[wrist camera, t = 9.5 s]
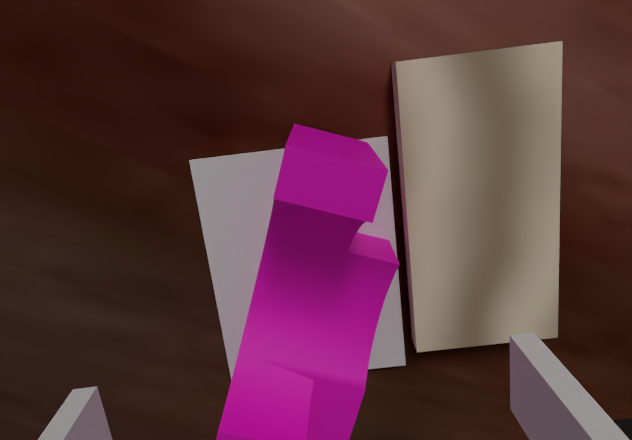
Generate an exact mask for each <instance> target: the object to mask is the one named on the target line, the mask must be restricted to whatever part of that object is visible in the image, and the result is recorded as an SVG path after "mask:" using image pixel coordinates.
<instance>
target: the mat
mask: <svg viewBox="0 0 632 440" xmlns="http://www.w3.org/2000/svg"><path fill="white" fill-rule="evenodd" d="M360 141H364V142H368V144H369V145H370V146H371V148H372V149H373V150H374V152H375V153H376V154H377V156H378V157H379V158H380V160H381V161H382V162H383V164H384V165H385V166H386V168H387V169H388V174H387V177H386V180H385V184H384V187H383V191H382V194H381V197H380V201H379V204H378V207H377V211H376V214H375V217H374V221H373V223H370V222H365V223H364V224H362V226H361V227H360V228H359V230H358V231H357V232H358V233H362V234H366V235H370V236H374V237H378V238H382V239H387V240H389V241H390V243H391V246H392V248H393V250H394V253H395V255H396V257H397V250H396V237H395V225H394V212H393V200H392V187H391V175H390V162H389V150H388V137H387V136H384V137H376V138H368V139H360ZM284 150H285V149H277V150H268V151H260V152H252V153H244V154H235V155H227V156H219V157H210V158H202V159H194V160H190V161H189V163H190V168H191V173H192V178H193V183H194V189H195V194H196V199H197V204H198V209H199V215H200V220H201V225H202V230H203V235H204V241H205V246H206V251H207V256H208V261H209V267H210V272H211V277H212V282H213V287H214V293H215V298H216V303H217V308H218V313H219V318H220V324H221V329H222V334H223V339H224V344H225V350H226V355H227V360H228V365H229V370H230V376H231V380H232V376H233V372H234V368H235V364H236V360H237V356H238V352H239V348H240V344H241V340H242V336H243V332H244V328H245V324H246V320H247V316H248V312H249V308H250V304H251V299H252V295H253V291H254V287H255V283H256V279H257V274H258V270H259V266H260V262H261V257H262V253H263V249H264V244H265V240H266V235H267V231H268V226H269V222H270V217H271V212H272V207H273V202H274V199H273V197H274V193H275V188H276V184H277V180H278V176H279V172H280V167H281V163H282V159H283V155H284ZM404 365H406V362H405V350H404V337H403V325H402V312H401V300H400V287H399V275H398V269H397V271H396V273H395V275H394V278H393V280H392V282H391V285H390V287H389V290H388V292H387V295H386V298H385V301H384V304H383V307H382V310H381V314H380V317H379V320H378V324H377V328H376V332H375V336H374V340H373V345H372V350H371V355H370V360H369V366H368V369H375V368H385V367H394V366H404Z"/></svg>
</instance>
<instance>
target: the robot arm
mask: <svg viewBox="0 0 632 440" xmlns="http://www.w3.org/2000/svg"><path fill="white" fill-rule="evenodd" d="M510 409H511V411H512V412H513V414H514V415H515V417H516V419H517V420H518V422H519V424H520V425H521V427H522V428H523V430H524V432H525V433H526V435H527V436H528V438H529V440H632V418H628V419H620V420H612V419H611V418H610V417H609V416H608V415H607V414H606V413H605V412H604V410H603V409H602V408H601V407H600V406H599V405H598V404H597V403H596V401H595V400H594V399H593V398H592V397H591V396H590V395H589V394H588V392H587V391H586V390H585V389H584V388H583V387H582V386H581V385H580V383H579V382H578V381H577V380H576V379H575V378H574V377H573V376H572V375H571V373H570V372H569V371H568V370H567V369H566V368H565V367H564V366H563V364H562V363H561V362H560V361H559V360H558V359H557V358H556V357H555V355H554V354H553V353H552V352H551V351H550V350H549V349H548V348H547V346H546V345H545V344H544V343H543V342H542V341H541V340H540V339H539V338H538V336H537V335H536V334H535V333H534V332H532V333H524V334H516V335H510ZM38 440H112V437H111V433H110V430H109V426H108V423H107V419H106V416H105V413H104V409H103V406H102V402H101V399H100V395H99V392H98V388H97V387H89V388H81V389H73V390H72V392H71V393H70V395H69V396H68V397H67V399H66V400H65V402H64V403H63V405H62V406H61V407H60V409H59V410H58V412H57V413H56V414H55V416H54V417H53V419H52V420H51V422H50V423H49V424H48V426H47V427H46V429H45V430H44V432H43V433H42V434H41V436H40V437H39V439H38Z"/></svg>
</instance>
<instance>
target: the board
mask: <svg viewBox="0 0 632 440" xmlns="http://www.w3.org/2000/svg"><path fill="white" fill-rule="evenodd" d="M391 67H392V81H393V94H394V107H395V121H396V134H397V147H398V161H399V174H400V187H401V201H402V214H403V227H404V241H405V254H406V268H407V281H408V294H409V308H410V321H411V334H412V340H413V343H414V346H415V348H416V351H417V352H425V351H435V350H444V349H453V348H463V347H472V346H482V345H491V344H500V343H510V335H516V334H524V333H532V332H534V333H535V334H536V335H537V336H538V338H539V339H547V338H556V337H558V288H559V226H560V165H561V103H562V41H559V42H551V43H543V44H535V45H527V46H519V47H511V48H503V49H495V50H487V51H479V52H471V53H463V54H455V55H447V56H439V57H431V58H423V59H415V60H407V61H399V62H391Z"/></svg>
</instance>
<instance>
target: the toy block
mask: <svg viewBox="0 0 632 440" xmlns="http://www.w3.org/2000/svg"><path fill="white" fill-rule="evenodd" d="M387 174H388V169H387V168H386V166H385V165H384V164H383V162H382V161H381V160H380V158H379V157H378V156H377V154H376V153H375V152H374V150H373V149H372V148H371V146H370V145H369V144H368V142H364V141H360V140H357V139H353V138H349V137H345V136H341V135H337V134H333V133H329V132H325V131H322V130H318V129H314V128H310V127H306V126H302V125H298V124H294V126H293V128H292V131H291V133H290V136H289V138H288V140H287V143H286V146H285V150H284V155H283V159H282V163H281V167H280V172H279V176H278V180H277V184H276V188H275V193H274V197H273V199H274V202H273V207H272V212H271V217H270V222H269V226H268V231H267V235H266V240H265V244H264V249H263V253H262V257H261V262H260V266H259V270H258V274H257V279H256V283H255V287H254V291H253V295H252V299H251V304H250V308H249V312H248V316H247V320H246V324H245V328H244V332H243V336H242V340H241V344H240V348H239V352H238V356H237V360H236V364H235V368H234V372H233V376H232V380H231V384H230V388H229V392H228V396H227V400H226V403H225V407H224V411H223V415H222V419H221V423H220V426H219V430H218V434H217V439H216V440H349V438H350V435H351V432H352V429H353V426H354V423H355V420H356V417H357V414H358V411H359V408H360V405H361V401H362V398H363V395H364V392H365V386H366V378H367V372H368V366H369V360H370V355H371V350H372V345H373V340H374V336H375V332H376V328H377V324H378V320H379V317H380V314H381V310H382V307H383V304H384V301H385V298H386V295H387V292H388V290H389V287H390V285H391V282H392V280H393V278H394V275H395V273H396V271H397V269H398V267H399V265H400V264H399V262H398V259H397V257H396V255H395V253H394V250H393V248H392V246H391V243H390V241H389V240H387V239H382V238H378V237H374V236H370V235H366V234H362V233H358V232H357V231H358V230H359V228H360V227H361V226H362V224H364V223H365V222H370V223H373V221H374V217H375V214H376V211H377V207H378V204H379V201H380V197H381V194H382V191H383V187H384V184H385V180H386V177H387Z"/></svg>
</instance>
